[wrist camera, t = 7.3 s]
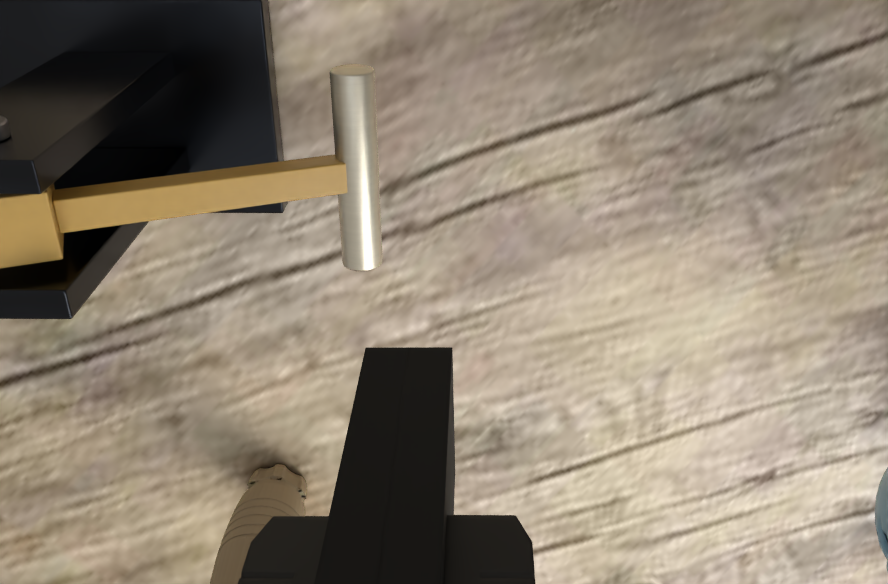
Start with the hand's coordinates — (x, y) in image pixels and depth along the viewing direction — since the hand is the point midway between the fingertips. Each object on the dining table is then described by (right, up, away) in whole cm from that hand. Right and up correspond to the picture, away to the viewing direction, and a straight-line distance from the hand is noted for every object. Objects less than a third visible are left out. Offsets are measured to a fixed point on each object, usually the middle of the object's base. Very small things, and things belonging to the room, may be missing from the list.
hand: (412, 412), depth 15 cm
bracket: (-12, +10, +21) cm, 26 cm away
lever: (-8, +6, +13) cm, 17 cm away
